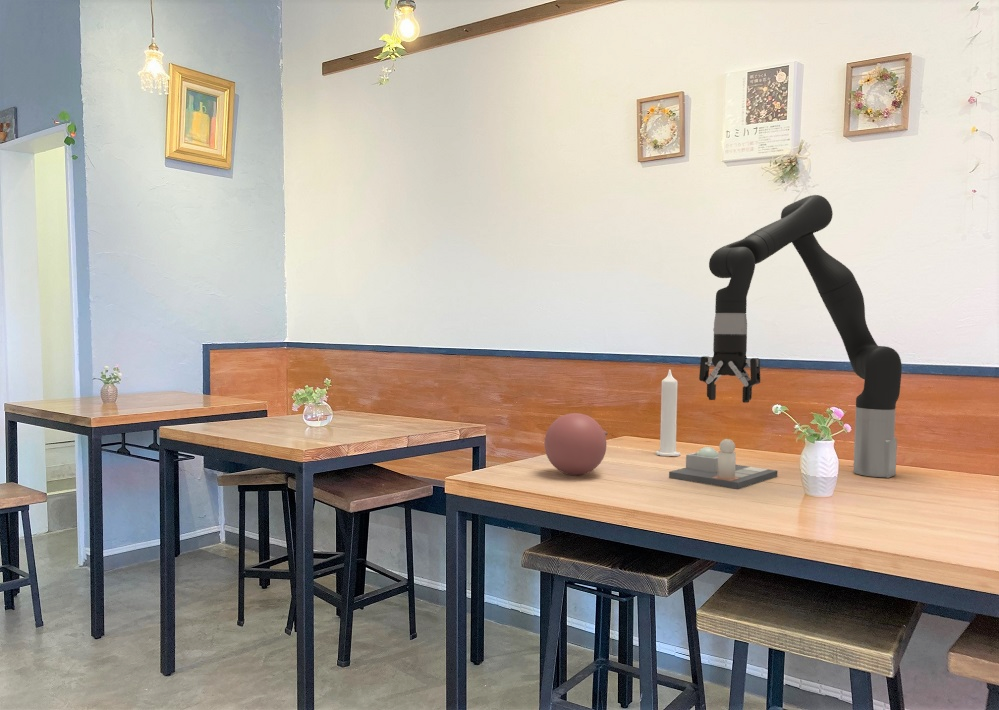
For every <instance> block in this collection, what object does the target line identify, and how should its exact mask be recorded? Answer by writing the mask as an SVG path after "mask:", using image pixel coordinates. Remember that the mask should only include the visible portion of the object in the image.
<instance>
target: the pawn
mask: <svg viewBox="0 0 999 710" xmlns="http://www.w3.org/2000/svg"><path fill="white" fill-rule="evenodd" d="M718 447H719V451H717V453H718V473H717V477H718V478H722V479H735V465H736V458H737V452H735V449H736V444H735V442H734V441H733V440H732V439H729V438H724V439H722V440H721V441H720V442H719V446H718Z"/></svg>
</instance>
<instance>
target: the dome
mask: <svg viewBox="0 0 999 710" xmlns="http://www.w3.org/2000/svg"><path fill="white" fill-rule="evenodd" d="M697 452H698V453H697V456H703V457H710V458H715V457H718V451H717V450H716V449H715V448H713V447H712V446H704V447H701V448H700V449H699V450H698V451H697Z"/></svg>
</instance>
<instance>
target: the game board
mask: <svg viewBox="0 0 999 710" xmlns="http://www.w3.org/2000/svg"><path fill="white" fill-rule="evenodd" d="M697 453H698V451H696V452H692V453H687V454H685V467H682V468H678V469H674V470H670V471H669V473H668V479H675V480H681V481H686V482H693V483H697V484H698V483H700V484H704V485H712V486H717V487H723V488H729V489H734V490H739V489H743V488H746V487H749V486H752V485H755V484H759V483H762V482H765V481H768V480H770V479H773V478H777V477H778V470H776V469H769V468H761V467H755V466H747V465H741V464H735V479H722V478H718V477H717V473H718V457H715V458H710V457H703V456H697Z"/></svg>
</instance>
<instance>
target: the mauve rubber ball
mask: <svg viewBox="0 0 999 710" xmlns="http://www.w3.org/2000/svg"><path fill="white" fill-rule="evenodd" d="M608 433H609V432H608V431H607V430H604V429H603V428H602V426H601V425H600V424H599V423H598V421H597V420H595V419H594V418H592V417H591V416H589V415H587V414H585V413H580V412H572V413H571V412H570V413H566V414H563V415H561V416H559V417H558V418H556V419H555V420H554V421H553V422H552V423H551V424H550V425H549V426H548V428H547V431H546V432H545V437H544V441H543V442H544V443H543V445H544V451H545V454H546V457H547V460H549V462H550V463H551V465H552V466H553V467H554V468H555V469H556V470H558V471H560V472H562V473H563V474H566V475H570V476H580V475H586V474H588V473H591V472H592V471H594V470H595V469H597V468H598V466H599V465H600V464H601V462H602V461H603V460H604V458H605V455H606V453H607V451H606V450H607V437H606V436H607V435H608Z"/></svg>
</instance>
